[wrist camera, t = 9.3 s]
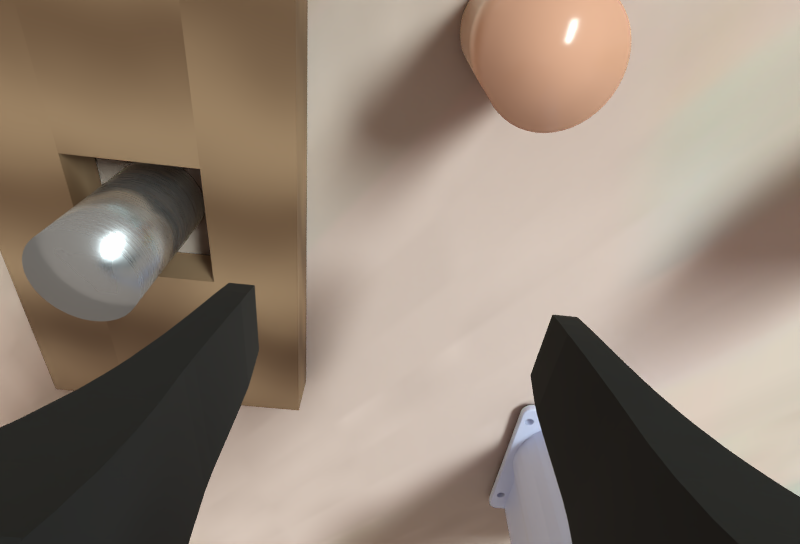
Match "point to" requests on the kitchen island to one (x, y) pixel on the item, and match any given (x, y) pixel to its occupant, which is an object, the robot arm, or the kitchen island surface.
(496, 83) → the terracotta pin
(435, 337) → the kitchen island surface
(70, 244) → the steel pin
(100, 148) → the wooden board with hole
